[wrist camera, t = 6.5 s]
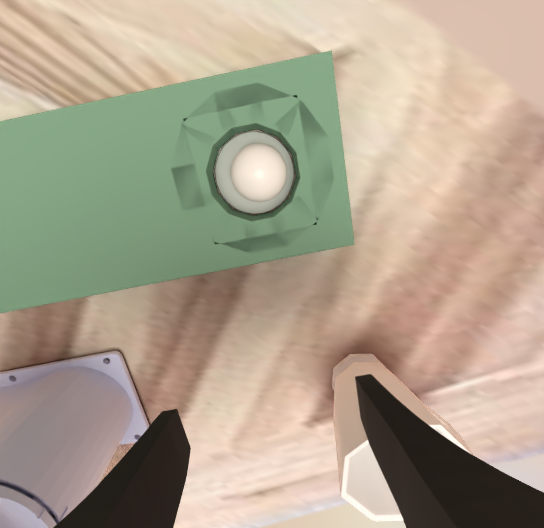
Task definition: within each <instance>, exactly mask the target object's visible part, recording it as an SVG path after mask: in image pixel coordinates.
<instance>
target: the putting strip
mask: <svg viewBox="0 0 544 528" xmlns="http://www.w3.org/2000/svg"><path fill="white" fill-rule="evenodd" d="M255 129H258V130H261V131H263V132H266V133H269V134H271V135H274V136H277V137H278V138H279V139H280V140H281V141H282V143H283V144H284V145H285V146H286V148H287V149H288V150H289V151H290V153H291V154H292V155H293V162H294V168H295V174H296V179H295V182H294V185H293V187H292V190H291V193H290V196H289V198H288V199H287V200H286V201H285V202H284V203H282V202H283V201H284V199H285V198H286V197H287V195H288V193H289V191H290V189H291V186H292V183H293V173H294V172H293V164H292V160H291V158H290V155H289V153H288V152H287V150H286V149H285V147H284V146H283V145H282V144H281V143H280V142H279V141H278V140H277V139H275V138H273V137H272V136H269V135H267V134H264V133H259V132H248V133H244V134H240V135H238V136H236V137H234V138H233V139H231V140H230V141H229V142H228V143H227V144H226V145H225V146H224V147H223V149H222V150H221V152H220V154H219V156H218V159H217V163H216V170H215V174H216V182H217V185H218V188H219V190H220V192H221V194H222V196H223V197H224V198H225V200H226V201H227V202H228V203H229V204H231V205H232V206H233V207H235V208H236V209H238V210H241V211H243V212H247V213H263V212H267V211H270V210H272V209H274V208H275V207H277V206H278V205H279V204H281V203H282V204H281V205H280V206H279V207H278V208H277V209H276V210H274V211H273V212H270V213H265V214H260V215H255V216H251V215H248V214H245V213H242V212H239V211H237V210H234V209H232V208H231V207H230V206H229V205H228V204H227V202H226V201H225V200H224V199H223V198H222V197H221V196H220V195H219V194H218V191H217V187H216V183H215V178H214V174H213V169H214V165H215V161H216V158H217V154H218V151H219V149H220V148H221V147H222V146H223V145H224V144H225V143H226V142H227V141H228V140H229V139H230V138H231V137H232V136H233V135H234V134H236V133H241V132H246V131H251V130H255ZM253 143H264V144H268V145H270V146H272V147H274V148H275V149H277V150H278V151H279V152H280V153H281V155H282V156H283V158H284V160H285V162H286V166H287V180H286V184H285V186H284V188H283V189H282V191H281V192H280V193H279V194H278V195H277V196H276V197H275V198H273V199H271V200H269V201H265V202H253V201H250V200H247V199H245V198H244V197H242V196H241V195H240V194H239V193H238V192H237V191H236V189H235V188H234V186H233V183H232V180H231V174H230V170H231V164H232V161H233V159H234V157H235V155H236V154H237V153H238V152H239V151H240V150H241V149H242V148H243V147H245V146H247V145H249V144H253ZM349 245H354V236H353V228H352V219H351V211H350V203H349V194H348V186H347V177H346V169H345V160H344V152H343V143H342V135H341V126H340V118H339V109H338V101H337V92H336V84H335V75H334V67H333V58H332V51H328V52H323V53H319V54H314V55H309V56H304V57H300V58H295V59H290V60H286V61H281V62H276V63H272V64H267V65H262V66H258V67H253V68H248V69H244V70H239V71H234V72H230V73H225V74H220V75H215V76H211V77H206V78H201V79H197V80H192V81H187V82H183V83H178V84H173V85H169V86H164V87H159V88H155V89H150V90H145V91H141V92H136V93H131V94H126V95H122V96H117V97H112V98H108V99H103V100H98V101H94V102H89V103H84V104H80V105H75V106H70V107H66V108H61V109H56V110H52V111H47V112H42V113H37V114H33V115H28V116H23V117H19V118H14V119H9V120H5V121H0V313H4V312H9V311H15V310H20V309H25V308H30V307H35V306H40V305H46V304H51V303H56V302H61V301H66V300H71V299H76V298H82V297H87V296H92V295H97V294H102V293H107V292H112V291H118V290H123V289H128V288H133V287H138V286H143V285H149V284H154V283H159V282H164V281H169V280H174V279H179V278H185V277H190V276H195V275H200V274H205V273H210V272H216V271H221V270H226V269H231V268H236V267H241V266H246V265H252V264H257V263H262V262H267V261H272V260H277V259H282V258H288V257H293V256H298V255H303V254H308V253H313V252H319V251H324V250H329V249H334V248H339V247H344V246H349Z"/></svg>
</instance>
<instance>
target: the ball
mask: <svg viewBox="0 0 544 528" xmlns="http://www.w3.org/2000/svg"><path fill="white" fill-rule="evenodd" d="M230 174H231V180H232V183H233V186H234V188H235V189H236V191H237V192H238V193H239V194H240V195H241V196H242V197H244V198H245V199H247V200H250V201H253V202H265V201H269V200H271V199H273V198H275V197H276V196H277V195H278V194H279V193H280V192H281V191H282V189H283V188H284V186H285V184H286V180H287V166H286V162H285V160H284V158H283V156H282V155H281V153H280V152H279V151H278V150H277V149H275V148H274V147H272V146H270V145H268V144H264V143H253V144H249V145H247V146H245V147H243V148H242V149H241V150H240V151H239V152H238V153H237V154H236V155H235V157H234V159H233V161H232V164H231V170H230Z"/></svg>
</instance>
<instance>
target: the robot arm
mask: <svg viewBox="0 0 544 528" xmlns="http://www.w3.org/2000/svg"><path fill="white" fill-rule="evenodd" d="M106 358H108V359H109V360H110V361H108V360H106ZM14 376H15V377H16V378H15V377H14ZM355 381H356V388H357V396H358V403H359V410H360V418H361V421H362V424H363V427H364V430H365V433H366V436H367V439H368V442H369V445H370V447H371V449H372V451H373V454H374V456H375V458H376V460H377V462H378V465H379V467H380V469H381V471H382V473H383V476H384V478H385V480H386V482H387V484H388V486H389V489H390V491H391V493H392V495H393V497H394V499H395V502H396V504H397V506H398V508H399V511H400V513H401V515H402V518H403V520H404V523H405V525H406V528H544V493H543V492H541V491H539V490H536V489H535V488H533V487H531V486H529V485H527V484H525V483H523V482H521V481H519V480H517V479H515V478H513V477H511V476H509V475H507V474H505V473H503V472H501V471H499V470H498V469H496V468H494V467H493V466H491V465H489V464H487V463H486V462H484V461H482V460H480V459H479V458H477V457H475V456H473V455H472V454H470V453H468V452H467V451H465V450H464V449H462V448H461V447H459V446H457V445H456V444H455V443H453V442H452V441H450V440H449V439H447V438H446V437H444V436H443V435H441V434H440V433H439V432H437V431H436V430H435V429H433V428H432V427H431V426H429V425H428V424H427V423H425V422H424V421H423V420H422V419H420V418H419V417H418V416H417V415H415V414H414V413H413V412H412V411H411V410H409V409H408V408H407V407H406V406H405V405H404V404H402V403H401V402H400V401H399V400H398V399H397V398H396V397H394V396H393V395H392V394H391V393H390V392H389V391H388V390H387V389H386V388H385V387H384V386H383V385H382V384H381V383H380V382H379V381H378V380H377V379H376V378H375V377H374V376H373V375H371V374H367V375H361V376H356V377H355ZM137 434H138V435H137ZM139 435H140V436H139ZM134 442H136V443H135V444H134V445H133V447H132V448H131V449H130V450H129V451H128V452H127V454H126V455H125V456H124V457H123V458H122V459H121V460H120V462H119V463H118V464H117V465H116V466H115V467H114V468H113V469H112V470H111V471H110V473H109V474H108V475H107V476H106V477H105V478H104V479H103V480H102V481H101V482H100V480H101V479H102V477H103V475H104V473H105V471H106V469H107V467H108V465H109V463H110V462H111V460H112V458H113V456H114V454H115V452H116V450H117V448H118V446H119V445H123V444H129V443H134ZM190 449H191V448H190V445H189V442H188V439H187V437H186V434H185V431H184V428H183V425H182V422H181V419H180V416H179V414H178V411H177V409H174V410H168V411H163V412H161V413H160V415H159V416H158V417H157V418H156V419H155V420H154V421H153V423H152V424H151V425H150V426H149V423H148V421H147V418H146V416H145V413H144V410H143V408H142V405H141V403H140V400H139V398H138V395H137V392H136V390H135V387H134V385H133V382H132V380H131V377H130V374H129V372H128V369H127V367H126V364H125V362H124V359H123V356H122V355H121V353H119V352H118V351H111V352H105V353H100V354H95V355H89V356H84V357H79V358H73V359H68V360H63V361H57V362H52V363H47V364H41V365H36V366H31V367H25V368H20V369H15V370H10V371H4V372H0V528H173V526H174V522H175V518H176V515H177V511H178V507H179V504H180V500H181V496H182V492H183V488H184V485H185V481H186V476H187V470H188V464H189V457H190ZM99 482H100V483H99ZM98 484H99V485H98Z"/></svg>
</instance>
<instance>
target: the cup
mask: <svg viewBox="0 0 544 528" xmlns="http://www.w3.org/2000/svg"><path fill="white" fill-rule="evenodd" d="M367 374H371V375H373V376H374V377H375V378H376V379H377V380H378V381H379V382H380V383H381V384H382V385H383V386H384V387H385V388H386V389H387V390H388V391H389V392H390V393H391V394H392V395H393V396H394V397H396V398H397V399H398V400H399V401H400V402H401V403H402V404H404V405H405V406H406V407H407V408H408V409H409V410H411V411H412V412H413V413H414V414H415V415H417V416H418V417H419V418H420V419H422V420H423V421H424V422H425V423H427V424H428V425H429V426H431V427H432V428H433V429H435V430H436V431H437V432H439V433H440V434H441V435H443V436H444V437H446V438H447V439H449V440H450V441H452V442H453V443H455V444H456V445H457V446H459V447H461V448H462V449H464V450H465V451H467V452H468V453H470V454H472V452H471V450H470V449H469V447H468V446H467V444H466V443H465V441H464V440H463V438H462V437H461V436H460V435H459V434H458V433H457V432H456V431H455V430H454V429H453V427H452V426H451V425H450V424H449V423H447V422H446V421H445V420H444V419H442V418H441V417H440V416H439V415H438V414H436V413H435V412H434V411H432V410H431V409H429V408H428V407H427V406H425V405H424V404H423V403H422V402H421V401H420V400H419V399H418V398H417V397H416V395H415V394H414V393H413V392H411V391H410V390H409V389H408V388H407V387H406V386H405V385H404V384H403V383H402V382H401V381H400V380H399V379H398V378H397V377H396V376H395V375H394V374H393V373H391V372H390V371H389V370H388V369H387V368H386V367H385V366H384V365H383V364H382V363H381V362H380V361H379V360H378V359H377V358H376V357H375V356H374V355H373V354H349V355H348V356H347V357H346V358H344V359H343V360H342V361H341V362H340V363H338V364H337V365H336V366H335V367H334V368H333V377H332V389H333V390H334V391H335V392H334V431H335V440H336V449H337V460H338V472H339V482H340V492H341V497H343V498H344V499H345V500H346V501H348V502H349V503H350V504H352V505H353V506H354V507H356V508H357V509H358V510H359V511H361V512H362V513H363V514H364V515H366V516H367V517H368V518H370V519H371V520H372V521H399V520H403V518H402V515H401V513H400V511H399V508H398V506H397V504H396V502H395V499H394V497H393V495H392V493H391V491H390V489H389V486H388V484H387V482H386V480H385V478H384V476H383V473H382V471H381V469H380V467H379V465H378V462H377V460H376V458H375V456H374V454H373V451H372V449H371V447H370V445H369V442H368V439H367V436H366V433H365V430H364V427H363V424H362V421H361V418H360V410H359V403H358V396H357V388H356V381H355V377H356V376H361V375H367ZM472 455H473V454H472Z"/></svg>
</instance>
